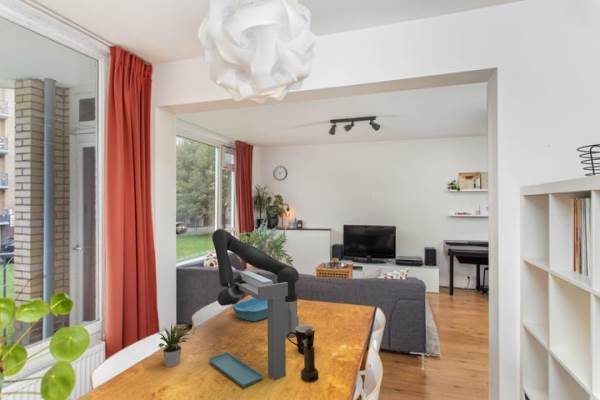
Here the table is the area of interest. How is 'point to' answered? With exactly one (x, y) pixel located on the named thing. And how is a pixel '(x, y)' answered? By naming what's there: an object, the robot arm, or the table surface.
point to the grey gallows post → (273, 323)
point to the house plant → (172, 346)
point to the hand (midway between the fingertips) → (250, 275)
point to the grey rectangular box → (255, 279)
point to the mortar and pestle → (309, 360)
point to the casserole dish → (251, 309)
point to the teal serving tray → (236, 369)
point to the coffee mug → (302, 337)
